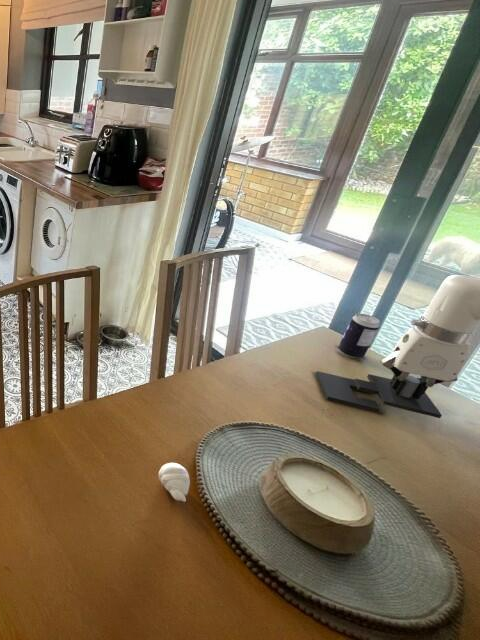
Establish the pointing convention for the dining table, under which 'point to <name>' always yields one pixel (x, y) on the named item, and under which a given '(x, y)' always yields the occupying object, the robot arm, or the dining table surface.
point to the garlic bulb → (175, 480)
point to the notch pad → (344, 391)
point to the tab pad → (399, 395)
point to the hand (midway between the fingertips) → (403, 392)
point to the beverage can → (359, 335)
